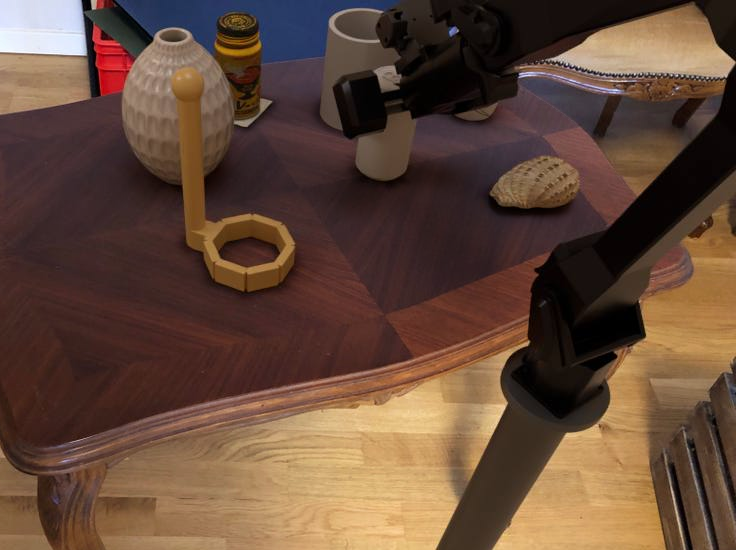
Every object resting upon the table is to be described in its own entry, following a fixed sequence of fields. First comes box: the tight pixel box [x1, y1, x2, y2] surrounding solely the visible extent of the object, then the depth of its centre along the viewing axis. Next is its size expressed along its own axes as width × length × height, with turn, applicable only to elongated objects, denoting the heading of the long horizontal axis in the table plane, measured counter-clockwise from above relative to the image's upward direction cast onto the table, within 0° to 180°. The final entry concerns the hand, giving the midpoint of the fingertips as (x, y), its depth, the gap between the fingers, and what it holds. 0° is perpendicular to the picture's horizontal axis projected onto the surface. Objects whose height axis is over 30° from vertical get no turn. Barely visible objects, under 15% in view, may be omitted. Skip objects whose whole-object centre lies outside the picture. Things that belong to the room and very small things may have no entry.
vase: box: [121, 27, 235, 186], centre depth 81 cm, size 13×13×17 cm
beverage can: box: [354, 66, 418, 182], centre depth 84 cm, size 6×6×12 cm
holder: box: [171, 67, 296, 293], centre depth 70 cm, size 13×9×20 cm
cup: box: [319, 7, 400, 132], centre depth 91 cm, size 9×9×12 cm
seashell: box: [488, 154, 581, 209], centre depth 83 cm, size 8×6×10 cm
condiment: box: [213, 11, 273, 128], centre depth 92 cm, size 7×8×12 cm
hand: (382, 113), depth 84 cm, fingers open, 7 cm apart
